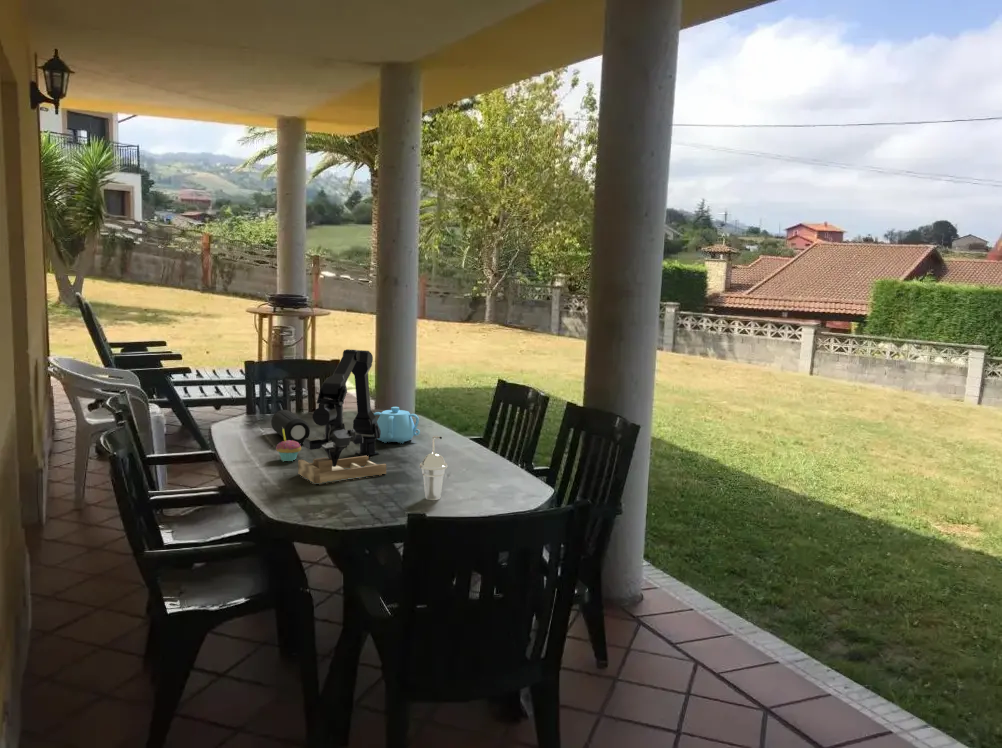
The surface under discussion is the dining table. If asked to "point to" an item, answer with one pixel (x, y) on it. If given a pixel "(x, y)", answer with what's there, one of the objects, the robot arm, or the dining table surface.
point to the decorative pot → (397, 425)
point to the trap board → (341, 469)
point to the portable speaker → (290, 426)
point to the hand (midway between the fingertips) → (334, 466)
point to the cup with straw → (433, 473)
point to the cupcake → (288, 449)
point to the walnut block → (323, 464)
